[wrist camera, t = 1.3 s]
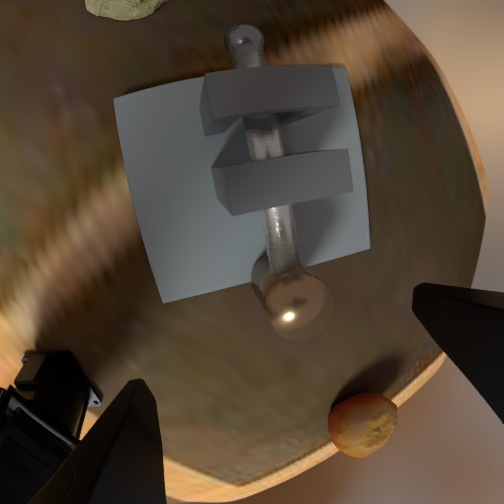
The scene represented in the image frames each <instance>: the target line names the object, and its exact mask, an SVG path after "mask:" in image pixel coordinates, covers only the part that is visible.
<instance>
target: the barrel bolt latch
mask: <svg viewBox="0 0 504 504" xmlns="http://www.w3.org/2000/svg"><path fill="white" fill-rule="evenodd" d="M113 100H114V108H115V115H116V121H117V127H118V133H119V139H120V145H121V150H122V155H123V160H124V165H125V170H126V175H127V179H128V184H129V188H130V192H131V197H132V201H133V205H134V209H135V213H136V217H137V220H138V224H139V228H140V231H141V235H142V239H143V242H144V246H145V249H146V252H147V256H148V259H149V262H150V266H151V269H152V272H153V275H154V278H155V281H156V284H157V287H158V290H159V293H160V296H161V299H162V302H163V303H167V302H171V301H175V300H179V299H184V298H188V297H192V296H196V295H200V294H204V293H208V292H212V291H216V290H220V289H224V288H228V287H232V286H236V285H240V284H244V283H248V282H251V273H252V270H253V267H254V266H255V264H256V263H257V262H258V261H259V260H260V259H261V258H262V257H263V256H265V255H267V248H266V243H265V237H264V231H263V226H262V220H261V214H260V210H265V209H270V208H274V207H279V206H284V205H289V204H293V211H294V218H295V225H296V232H297V239H298V247H299V254H300V262H301V264H302V265H303V266H304V267H307V266H311V265H314V264H318V263H322V262H325V261H329V260H332V259H336V258H339V257H343V256H346V255H350V254H353V253H356V252H360V251H363V250H367V249H370V236H369V218H368V205H367V193H366V183H365V174H364V166H363V158H362V151H361V144H360V137H359V131H358V125H357V119H356V114H355V109H354V103H353V99H352V94H351V89H350V85H349V80H348V76H347V72H346V69H343V68H332V65H279V66H262V67H250V68H240V69H231V70H224V71H216V72H210V73H205V76H204V77H198V78H193V79H188V80H183V81H178V82H173V83H169V84H164V85H160V86H156V87H152V88H148V89H145V90H141V91H137V92H134V93H131V94H127V95H124V96H121V97H118V98H115V99H113ZM272 113H277V117H278V122H279V127H280V133H281V138H282V144H283V149H284V155H285V156H281V157H275V158H269V159H263V160H257V161H251V159H250V154H249V149H248V143H247V138H246V133H245V128H244V122H243V117H249V116H256V115H264V114H272Z"/></svg>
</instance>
